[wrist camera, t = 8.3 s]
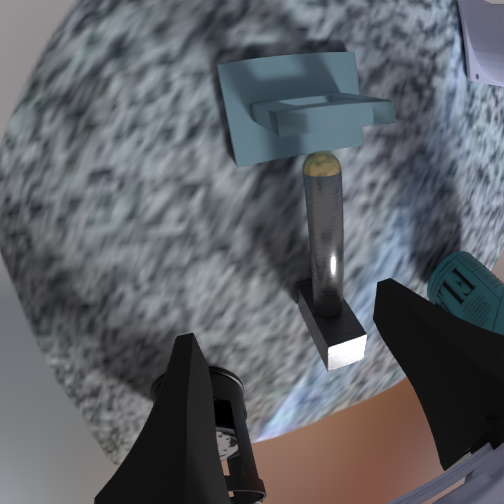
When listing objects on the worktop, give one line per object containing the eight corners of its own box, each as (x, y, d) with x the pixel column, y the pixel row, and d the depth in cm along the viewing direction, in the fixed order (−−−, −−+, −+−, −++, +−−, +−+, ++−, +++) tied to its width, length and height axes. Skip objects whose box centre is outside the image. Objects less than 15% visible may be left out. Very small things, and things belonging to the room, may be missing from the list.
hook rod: (278, 142, 17) (323, 176, 12) (319, 136, 17) (378, 166, 12) (298, 307, 24) (327, 371, 19) (328, 299, 25) (363, 358, 19)
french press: (127, 389, 27) (138, 612, 7) (193, 348, 25) (242, 628, 6) (206, 426, 33) (239, 599, 13) (269, 395, 31) (330, 588, 12)
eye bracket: (216, 65, 14) (230, 55, 9) (348, 52, 15) (411, 49, 10) (235, 164, 18) (257, 202, 12) (357, 142, 18) (416, 171, 13)
